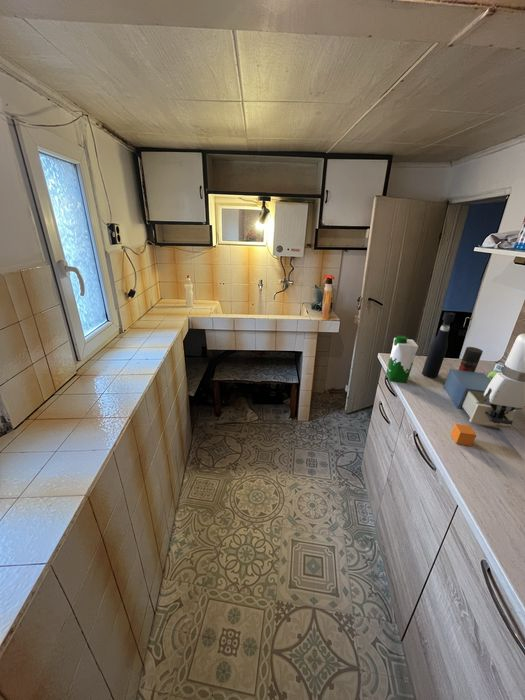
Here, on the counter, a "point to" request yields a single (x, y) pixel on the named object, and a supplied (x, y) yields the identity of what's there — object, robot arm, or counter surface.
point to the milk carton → (401, 359)
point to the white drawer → (483, 410)
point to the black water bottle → (438, 348)
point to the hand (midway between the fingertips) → (494, 420)
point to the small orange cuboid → (463, 434)
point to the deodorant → (470, 359)
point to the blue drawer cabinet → (464, 384)
